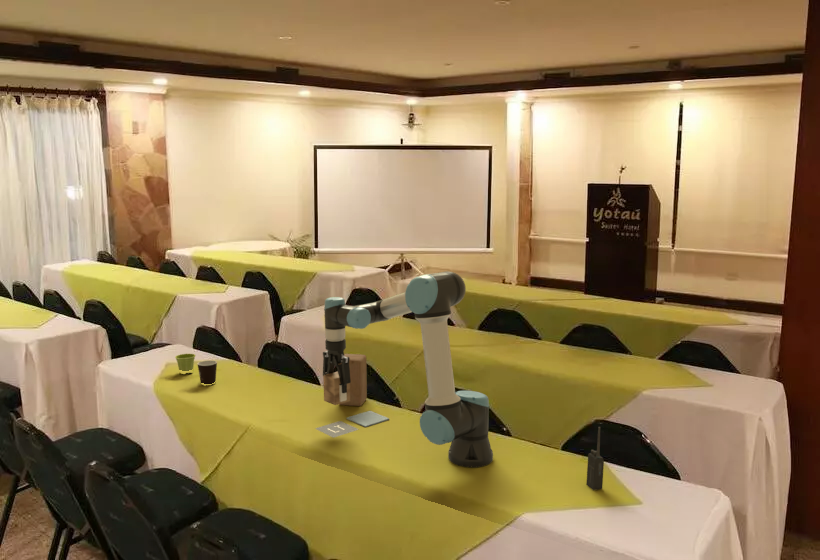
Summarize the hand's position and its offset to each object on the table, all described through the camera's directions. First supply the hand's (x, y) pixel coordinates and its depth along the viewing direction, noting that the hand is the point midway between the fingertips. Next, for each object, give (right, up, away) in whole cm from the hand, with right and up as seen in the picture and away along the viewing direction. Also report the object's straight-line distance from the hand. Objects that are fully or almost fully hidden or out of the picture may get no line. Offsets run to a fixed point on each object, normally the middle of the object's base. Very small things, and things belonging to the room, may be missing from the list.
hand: (337, 398), depth 251 cm
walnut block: (0, -1, 0) cm, 1 cm away
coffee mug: (-66, -3, +58) cm, 88 cm away
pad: (+11, -11, +12) cm, 19 cm away
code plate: (0, -12, +2) cm, 12 cm away
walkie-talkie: (+85, -20, -44) cm, 98 cm away
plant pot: (-81, -1, +73) cm, 109 cm away
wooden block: (+3, -8, +32) cm, 33 cm away
